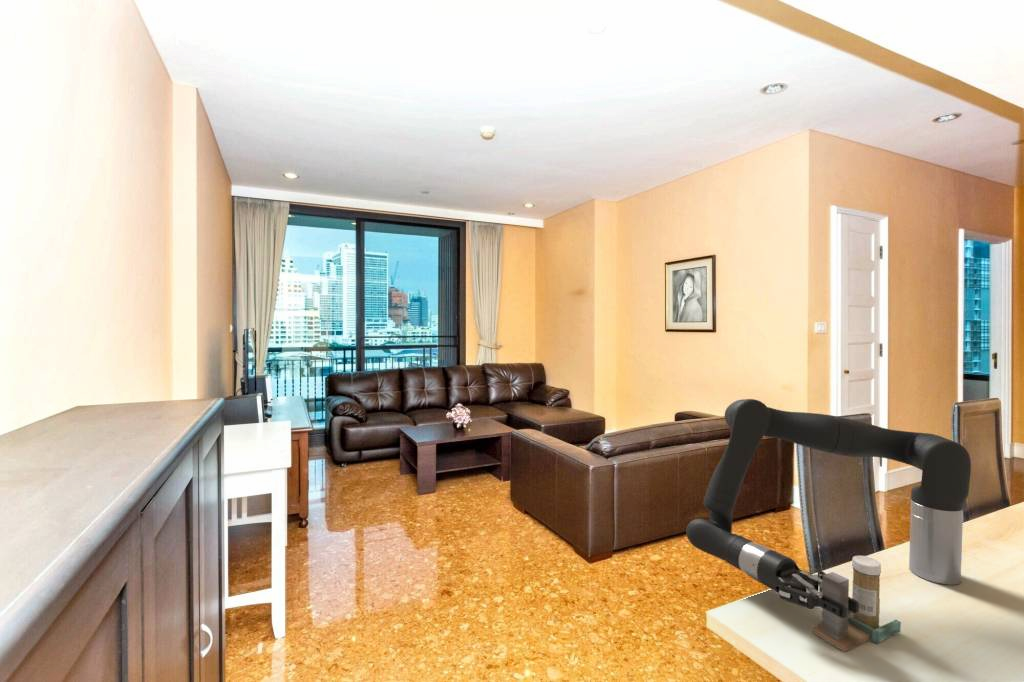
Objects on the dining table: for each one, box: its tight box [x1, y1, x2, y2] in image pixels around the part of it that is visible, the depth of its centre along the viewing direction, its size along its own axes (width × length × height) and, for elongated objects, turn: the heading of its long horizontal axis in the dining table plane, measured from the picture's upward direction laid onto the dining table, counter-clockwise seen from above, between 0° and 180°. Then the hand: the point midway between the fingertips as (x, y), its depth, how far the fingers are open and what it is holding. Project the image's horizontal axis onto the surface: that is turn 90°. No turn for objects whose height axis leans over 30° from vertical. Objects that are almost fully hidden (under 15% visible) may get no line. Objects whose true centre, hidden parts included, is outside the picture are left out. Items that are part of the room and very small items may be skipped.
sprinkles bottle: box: [851, 555, 882, 629], centre depth 94 cm, size 5×5×13 cm
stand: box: [811, 571, 902, 652], centre depth 93 cm, size 16×9×12 cm, turn 115°
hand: (851, 610), depth 87 cm, fingers closed on stand, 3 cm apart
